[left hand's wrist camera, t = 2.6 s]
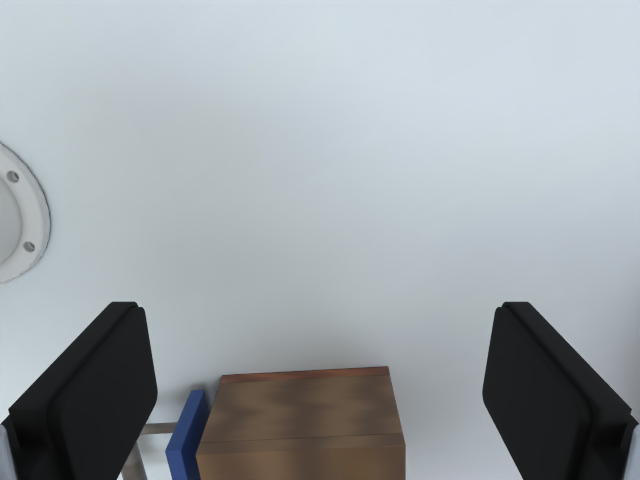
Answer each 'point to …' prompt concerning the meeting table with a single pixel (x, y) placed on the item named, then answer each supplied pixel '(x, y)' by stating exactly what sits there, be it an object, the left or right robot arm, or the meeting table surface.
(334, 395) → the cabinet
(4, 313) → the meeting table surface
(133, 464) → the drawer
